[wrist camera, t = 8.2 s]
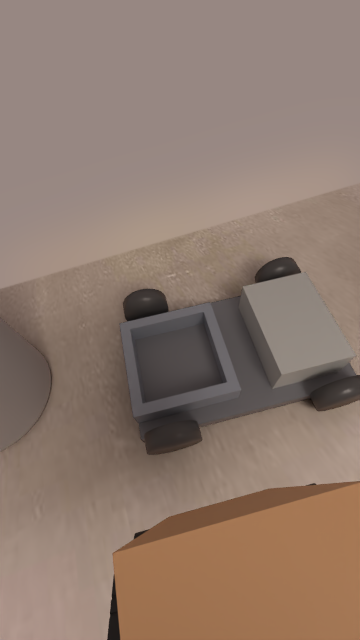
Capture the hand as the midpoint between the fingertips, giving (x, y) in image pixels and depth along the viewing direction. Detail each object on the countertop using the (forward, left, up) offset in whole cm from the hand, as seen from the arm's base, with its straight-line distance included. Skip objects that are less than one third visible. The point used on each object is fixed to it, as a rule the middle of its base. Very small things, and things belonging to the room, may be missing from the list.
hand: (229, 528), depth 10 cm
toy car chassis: (-6, -13, -18) cm, 23 cm away
